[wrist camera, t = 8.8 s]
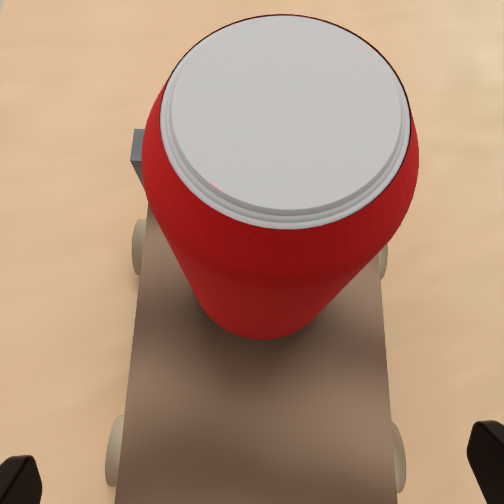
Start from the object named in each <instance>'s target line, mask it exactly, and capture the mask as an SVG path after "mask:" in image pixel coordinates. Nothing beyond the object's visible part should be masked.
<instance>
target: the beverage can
mask: <svg viewBox="0 0 504 504" xmlns="http://www.w3.org/2000/svg"><path fill="white" fill-rule="evenodd" d="M141 165H142V176H143V184H144V188H145V192H146V196H147V199H148V202H149V205H150V207H151V210H152V213H153V215H154V217H155V218H156V220H157V222H158V224H159V226H160V228H161V230H162V232H163V234H164V236H165V238H166V240H167V242H168V244H169V245H170V247H171V249H172V251H173V253H174V255H175V257H176V259H177V261H178V263H179V265H180V267H181V269H182V271H183V272H184V274H185V276H186V278H187V280H188V282H189V284H190V286H191V288H192V290H193V292H194V294H195V296H196V298H197V299H198V301H199V303H200V305H201V307H202V308H203V310H204V311H205V312H206V314H207V315H208V316H209V317H210V318H211V319H212V320H213V321H214V322H215V323H216V324H218V325H219V326H220V327H222V328H223V329H225V330H227V331H229V332H231V333H233V334H235V335H238V336H241V337H244V338H249V339H256V340H268V339H276V338H280V337H284V336H287V335H290V334H292V333H294V332H296V331H298V330H300V329H301V328H303V327H304V326H306V325H307V324H308V323H310V322H311V321H312V320H313V319H314V318H315V317H316V316H317V315H318V314H319V313H320V312H321V311H322V310H323V309H324V308H325V307H326V306H327V305H328V304H329V303H330V302H331V301H332V300H333V299H334V298H335V297H336V295H337V294H338V293H339V292H340V291H341V290H342V289H343V288H344V287H345V286H346V285H347V284H348V283H349V282H350V281H351V280H352V279H353V278H354V277H355V276H356V275H357V274H358V273H359V272H360V271H361V270H362V269H363V268H364V267H365V266H366V265H367V264H368V263H369V262H370V261H371V260H372V259H373V258H374V257H375V256H376V255H377V254H378V253H379V252H380V251H381V250H382V249H383V247H384V246H385V245H386V244H387V243H388V242H389V240H390V239H391V238H392V237H393V235H394V234H395V232H396V231H397V229H398V228H399V226H400V225H401V223H402V221H403V219H404V217H405V215H406V213H407V211H408V209H409V206H410V203H411V201H412V198H413V195H414V191H415V187H416V182H417V176H418V168H419V147H418V139H417V133H416V129H415V125H414V121H413V117H412V113H411V109H410V105H409V101H408V97H407V94H406V92H405V89H404V86H403V84H402V82H401V80H400V78H399V76H398V75H397V73H396V72H395V70H394V69H393V67H392V66H391V65H390V63H389V62H388V61H387V60H386V58H385V57H384V56H383V55H382V54H381V53H380V52H379V51H378V50H377V49H376V48H374V47H373V46H372V45H371V44H370V43H368V42H367V41H366V40H364V39H363V38H361V37H360V36H358V35H356V34H355V33H353V32H351V31H349V30H348V29H345V28H343V27H341V26H339V25H336V24H334V23H331V22H328V21H325V20H321V19H318V18H313V17H308V16H302V15H292V14H274V15H263V16H256V17H252V18H247V19H243V20H240V21H237V22H234V23H231V24H229V25H226V26H224V27H222V28H220V29H218V30H216V31H214V32H212V33H211V34H209V35H208V36H206V37H205V38H203V39H202V40H200V41H199V42H198V43H197V44H195V45H194V46H193V47H192V48H191V49H190V50H189V51H188V52H187V53H186V54H185V55H184V56H183V58H182V59H181V60H180V61H179V62H178V64H177V65H176V67H175V68H174V70H173V71H172V73H171V75H170V76H169V78H168V80H167V81H166V83H165V85H164V86H163V88H162V90H161V91H160V93H159V95H158V97H157V99H156V101H155V103H154V105H153V107H152V109H151V112H150V114H149V117H148V120H147V123H146V127H145V132H144V136H143V144H142V152H141Z"/></svg>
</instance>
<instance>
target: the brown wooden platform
mask: <svg viewBox="0 0 504 504" xmlns="http://www.w3.org/2000/svg"><path fill="white" fill-rule="evenodd" d="M144 132H145V129H134V135H133V143H132V151H131V158H130V161H131V163H132V165H133V167H134V169H135V171H136V173H137V175H138V177H139V179H140V181H141V183H142V185H143V187H144V184H143V176H142V165H141V152H142V144H143V136H144ZM144 189H145V188H144ZM387 257H388V246H387V244H386V245H385V246H384V247H383V249H382V250H381V251H380V252H379V253H378V254H377V255H376V256H375V257H374V258H373V259H372V260H371V261H370V262H369V263H368V264H367V265H366V266H365V267H364V268H363V269H362V270H361V271H360V272H359V273H358V274H357V275H356V276H355V277H354V278H353V279H352V280H351V281H350V282H349V283H348V284H347V285H346V286H345V287H344V288H343V289H342V290H341V291H340V292H339V293H338V294H337V295H336V297H335V298H334V299H333V300H332V301H331V302H330V303H329V304H328V305H327V306H326V307H325V308H324V309H323V310H322V311H321V312H320V313H319V314H318V315H317V316H316V317H315V318H314V319H313V320H312V321H311V322H310V323H308V324H307V325H306V326H304V327H303V328H301V329H300V330H298V331H296V332H294V333H292V334H290V335H287V336H284V337H280V338H276V339H268V340H256V339H249V338H244V337H241V336H238V335H235V334H233V333H231V332H229V331H227V330H225V329H223V328H222V327H220V326H219V325H218V324H216V323H215V322H214V321H213V320H212V319H211V318H210V317H209V316H208V315H207V314H206V312H205V311H204V310H203V308H202V307H201V305H200V303H199V301H198V299H197V298H196V296H195V294H194V292H193V290H192V288H191V286H190V284H189V282H188V280H187V278H186V276H185V274H184V272H183V271H182V269H181V267H180V265H179V263H178V261H177V259H176V257H175V255H174V253H173V251H172V249H171V247H170V245H169V244H168V242H167V240H166V238H165V236H164V234H163V232H162V230H161V228H160V226H159V224H158V222H157V220H156V218H155V217H154V215H153V213H152V210H151V207H150V205H149V202H148V211H147V220H143V219H139V220H138V221H137V222H136V225H135V227H134V232H133V238H132V261H133V267H134V270H135V272H136V274H137V275H140V282H139V291H138V300H137V309H136V318H135V327H134V336H133V345H132V354H131V363H130V372H129V381H128V390H127V399H126V408H125V415H120V416H118V417H117V418H116V420H115V422H114V424H113V427H112V430H111V433H110V437H109V441H108V446H107V452H106V463H105V475H106V481H107V484H108V486H112V487H117V488H116V497H115V504H397V493H400V492H402V490H403V488H404V485H405V480H406V459H405V452H404V446H403V442H402V438H401V435H400V433H399V430H398V428H397V426H396V425H395V424H394V423H393V422H391V412H390V399H389V386H388V373H387V360H386V347H385V334H384V321H383V308H382V295H381V282H380V280H381V279H382V278H383V276H384V273H385V270H386V265H387Z"/></svg>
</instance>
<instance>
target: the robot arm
mask: <svg viewBox="0 0 504 504" xmlns="http://www.w3.org/2000/svg"><path fill="white" fill-rule="evenodd" d="M467 458H468V461H469V464H470V466H471V468H472V470H473V473H474V475H475V477H476V480H477V482H478V484H479V486H480V489H481V491H482V493H483V496H484V498H485V500H486V502H487V504H504V425H502V424H501V423H499V422H497V421H494V420H488V421H478V422H476V423H475V424H474V425H473V427H472V431H471V435H470V439H469V442H468V446H467ZM41 496H42V482H41V478H40V475H39V472H38V468H37V465H36V462H35V459H34V457H33V456H31V455H22V456H12V457H9V458H8V459H6V460H5V461H4V462H3V463H2V464H1V465H0V504H40V500H41Z"/></svg>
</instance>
